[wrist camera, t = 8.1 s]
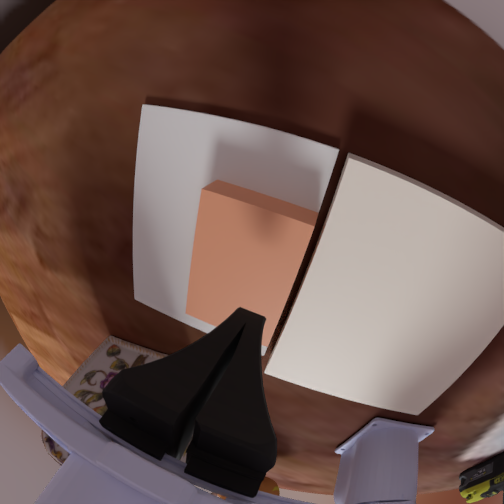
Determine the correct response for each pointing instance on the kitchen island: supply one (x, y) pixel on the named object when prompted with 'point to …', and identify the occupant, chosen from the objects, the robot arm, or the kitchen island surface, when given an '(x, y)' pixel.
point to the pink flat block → (245, 254)
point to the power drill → (483, 480)
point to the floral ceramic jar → (101, 381)
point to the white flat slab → (393, 293)
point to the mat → (197, 177)
